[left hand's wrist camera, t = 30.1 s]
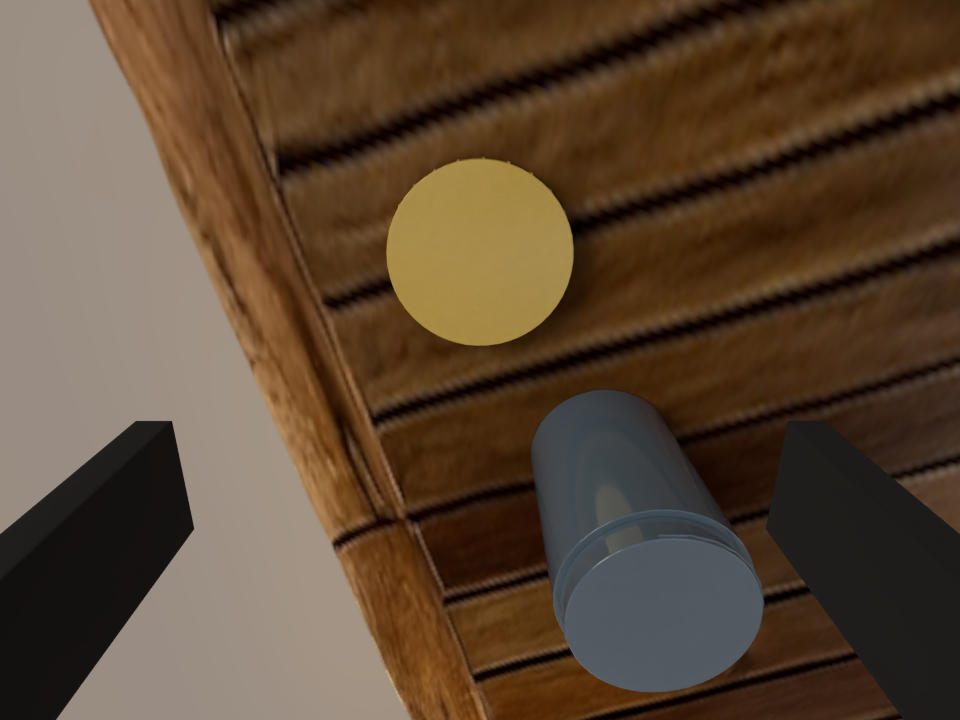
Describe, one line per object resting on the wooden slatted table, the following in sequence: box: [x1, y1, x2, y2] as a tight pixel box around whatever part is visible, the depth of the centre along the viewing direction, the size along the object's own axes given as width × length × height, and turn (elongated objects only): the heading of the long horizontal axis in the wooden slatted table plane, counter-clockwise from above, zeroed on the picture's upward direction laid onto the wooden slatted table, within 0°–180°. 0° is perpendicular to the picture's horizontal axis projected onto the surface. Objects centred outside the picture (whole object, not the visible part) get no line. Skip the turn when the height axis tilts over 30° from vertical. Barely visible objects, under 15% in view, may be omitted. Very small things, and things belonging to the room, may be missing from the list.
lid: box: [386, 157, 574, 346], centre depth 37 cm, size 11×11×2 cm
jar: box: [531, 390, 764, 692], centre depth 35 cm, size 10×10×16 cm
